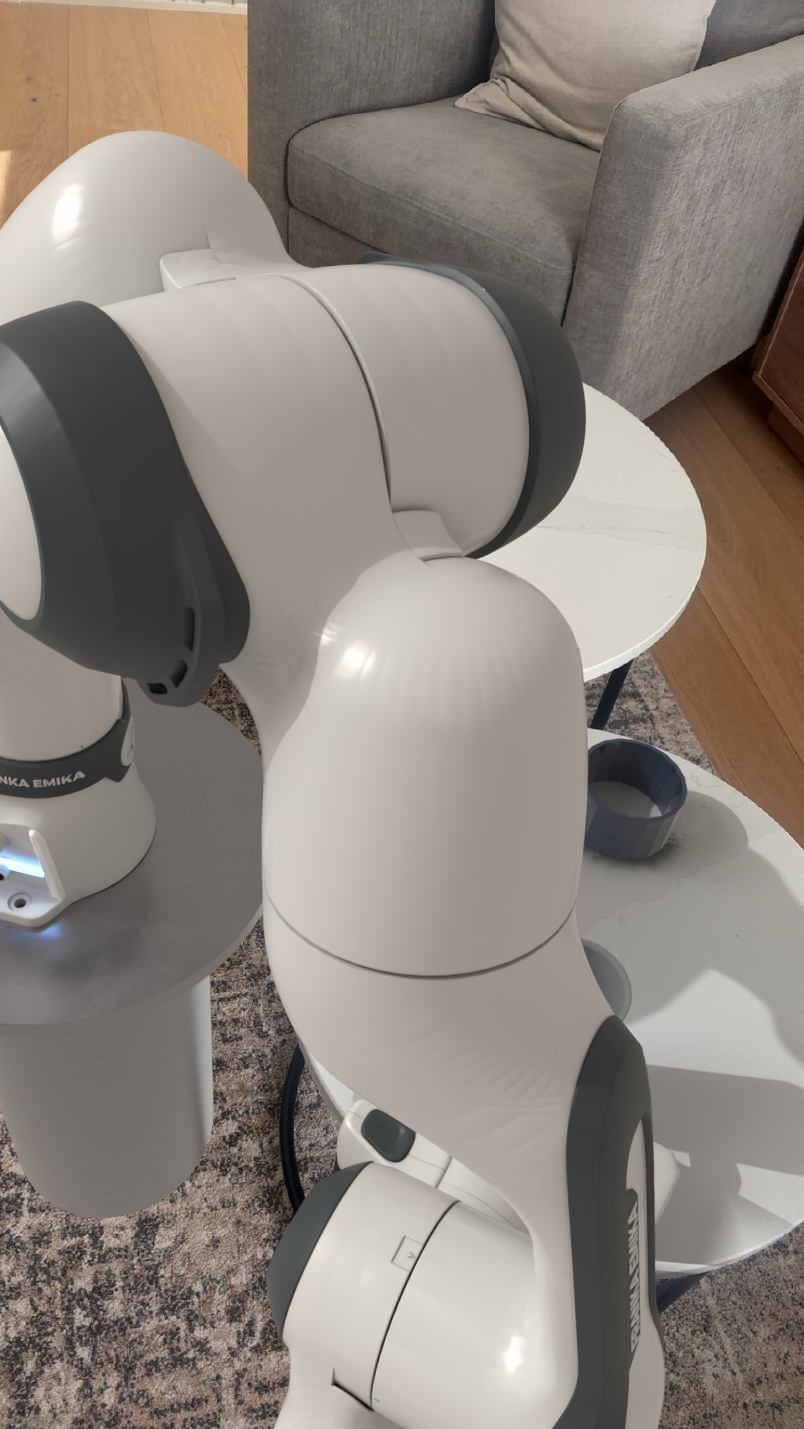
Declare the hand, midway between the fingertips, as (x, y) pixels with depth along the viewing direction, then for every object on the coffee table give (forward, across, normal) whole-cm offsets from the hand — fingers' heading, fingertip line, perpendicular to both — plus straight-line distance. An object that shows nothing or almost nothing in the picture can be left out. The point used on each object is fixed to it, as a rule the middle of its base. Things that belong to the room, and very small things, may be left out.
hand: (557, 1028), depth 72 cm
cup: (-1, 0, +8) cm, 8 cm away
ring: (+25, +3, +8) cm, 27 cm away
